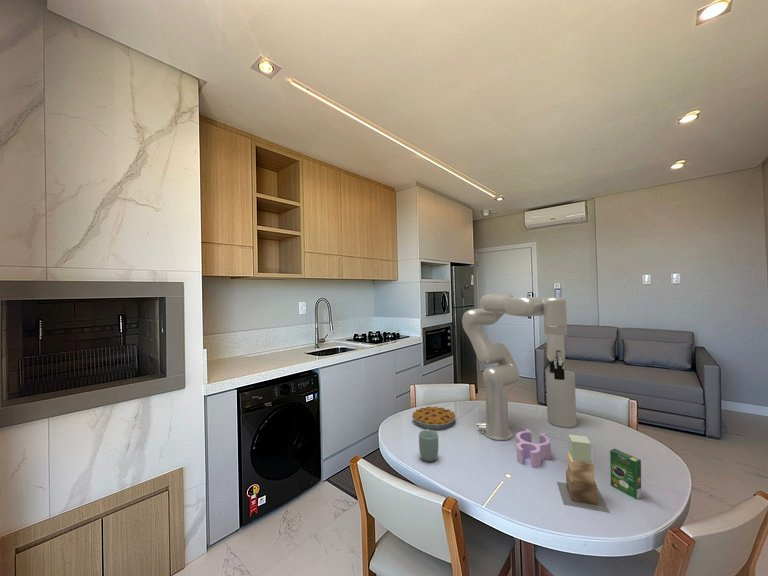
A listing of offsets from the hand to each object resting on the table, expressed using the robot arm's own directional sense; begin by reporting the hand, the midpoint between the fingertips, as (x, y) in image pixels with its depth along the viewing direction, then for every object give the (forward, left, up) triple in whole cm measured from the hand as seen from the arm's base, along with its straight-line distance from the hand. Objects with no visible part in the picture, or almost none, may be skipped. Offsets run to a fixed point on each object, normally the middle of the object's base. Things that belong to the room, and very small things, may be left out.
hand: (557, 375), depth 118 cm
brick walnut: (+3, -18, -33) cm, 38 cm away
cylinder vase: (+8, +44, -34) cm, 56 cm away
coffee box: (+17, -11, -34) cm, 40 cm away
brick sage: (+3, -18, -21) cm, 28 cm away
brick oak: (+3, -18, -27) cm, 33 cm away
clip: (-9, +5, -35) cm, 36 cm away
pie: (-53, +28, -35) cm, 69 cm away
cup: (-48, -8, -34) cm, 60 cm away
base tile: (+3, -18, -34) cm, 39 cm away
